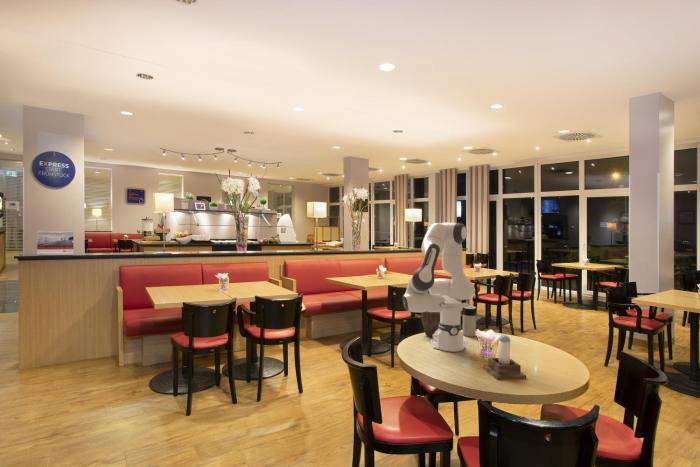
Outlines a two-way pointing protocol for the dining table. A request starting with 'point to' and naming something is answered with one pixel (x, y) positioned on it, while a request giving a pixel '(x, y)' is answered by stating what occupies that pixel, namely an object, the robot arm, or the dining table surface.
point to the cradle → (504, 370)
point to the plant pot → (430, 322)
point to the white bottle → (504, 350)
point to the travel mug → (469, 321)
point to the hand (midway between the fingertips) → (464, 302)
